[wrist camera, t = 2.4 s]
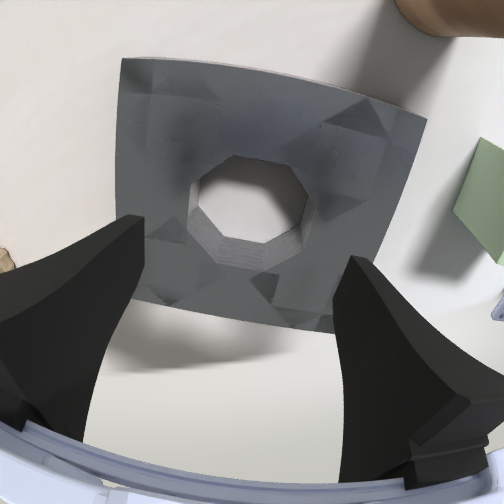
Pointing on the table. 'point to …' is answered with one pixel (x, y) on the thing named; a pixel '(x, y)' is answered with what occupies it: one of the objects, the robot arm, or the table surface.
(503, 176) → the square bit
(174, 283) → the socket block
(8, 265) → the handle
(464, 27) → the walnut peg
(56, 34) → the table surface
